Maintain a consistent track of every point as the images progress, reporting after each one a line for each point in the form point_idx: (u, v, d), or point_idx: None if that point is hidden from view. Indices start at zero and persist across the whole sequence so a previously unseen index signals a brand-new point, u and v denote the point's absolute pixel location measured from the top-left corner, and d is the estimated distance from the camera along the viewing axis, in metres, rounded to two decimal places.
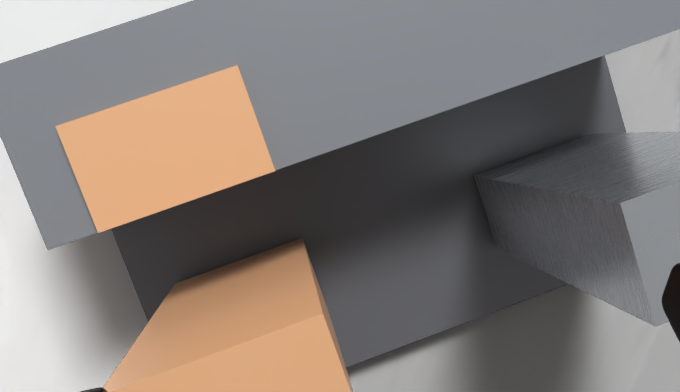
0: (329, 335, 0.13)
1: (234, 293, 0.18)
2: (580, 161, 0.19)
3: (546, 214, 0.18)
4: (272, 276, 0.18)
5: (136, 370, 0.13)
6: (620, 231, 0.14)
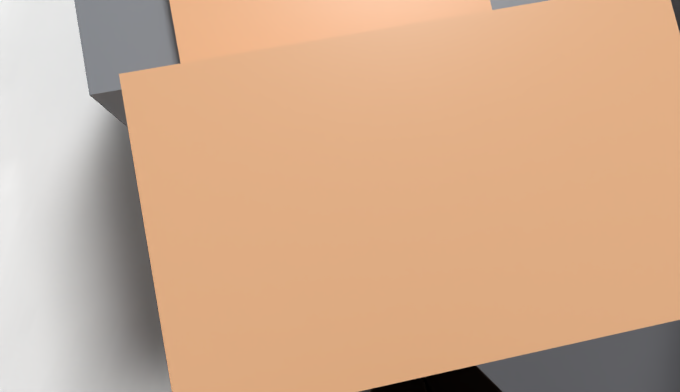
0: (677, 32, 0.06)
1: None
2: None
3: None
4: None
5: None
6: None
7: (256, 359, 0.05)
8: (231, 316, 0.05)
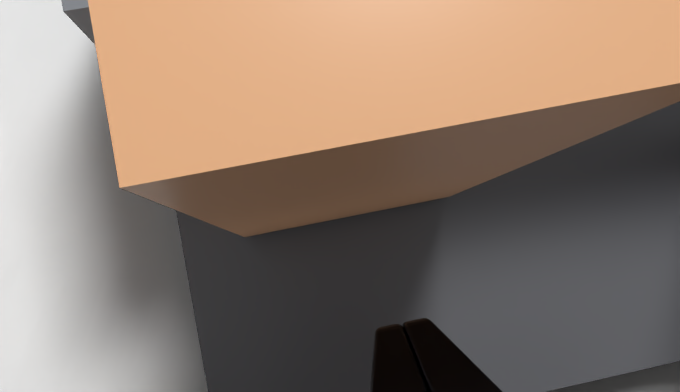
0: None
1: None
2: None
3: None
4: None
5: None
6: None
7: (206, 113, 0.04)
8: (178, 67, 0.04)
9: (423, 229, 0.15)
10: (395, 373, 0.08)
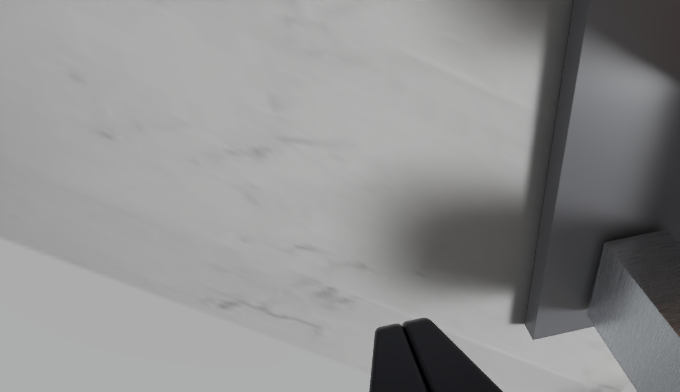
0: None
1: None
2: None
3: None
4: None
5: None
6: None
7: None
8: None
9: None
10: (395, 373, 0.08)
